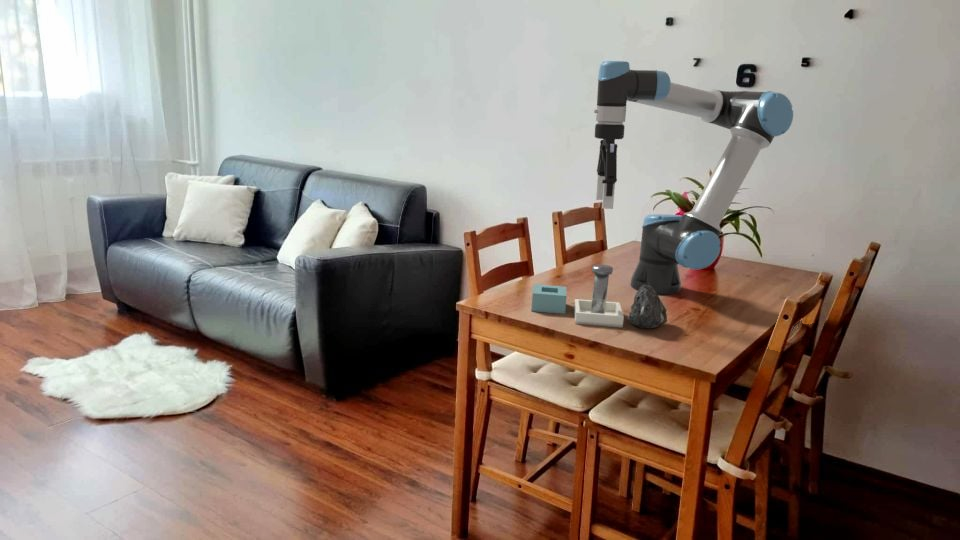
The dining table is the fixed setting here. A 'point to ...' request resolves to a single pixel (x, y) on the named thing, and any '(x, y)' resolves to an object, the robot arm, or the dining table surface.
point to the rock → (647, 309)
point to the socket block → (549, 298)
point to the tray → (598, 314)
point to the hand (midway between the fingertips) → (604, 204)
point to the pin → (600, 287)
